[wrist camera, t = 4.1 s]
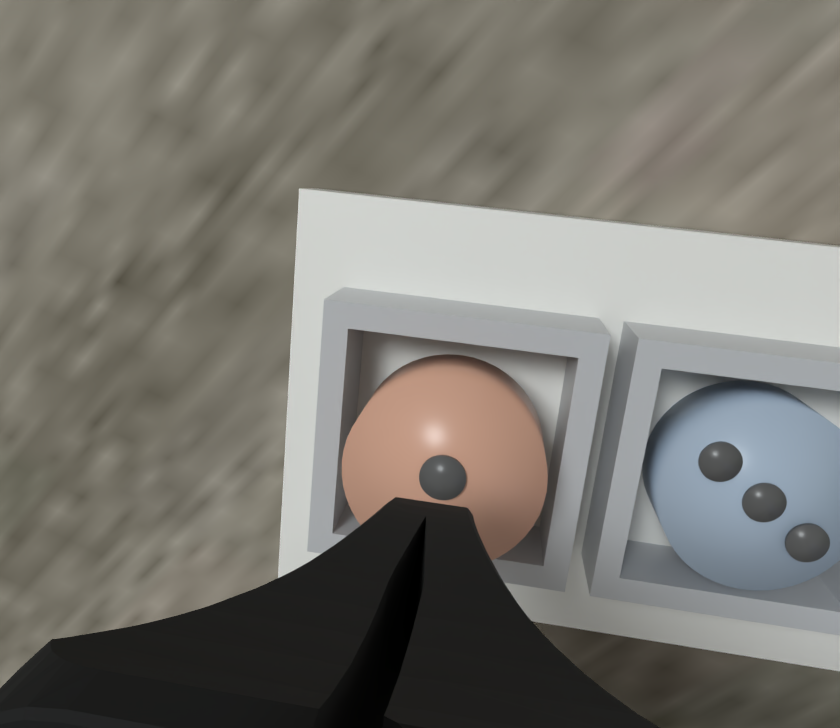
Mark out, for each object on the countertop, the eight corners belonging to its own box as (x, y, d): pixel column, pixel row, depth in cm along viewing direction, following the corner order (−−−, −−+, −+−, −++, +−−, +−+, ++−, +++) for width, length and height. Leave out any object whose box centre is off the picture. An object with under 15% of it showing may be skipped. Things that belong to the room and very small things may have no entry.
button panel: (1092, 680, 19) (1217, 785, 16) (293, 553, 21) (253, 622, 18) (1257, 291, 16) (1452, 318, 13) (315, 188, 18) (272, 188, 15)
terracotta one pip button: (528, 538, 17) (531, 586, 15) (353, 512, 17) (333, 554, 15) (555, 367, 16) (563, 393, 14) (368, 343, 16) (348, 365, 14)
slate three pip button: (804, 558, 17) (843, 607, 15) (627, 532, 18) (643, 576, 16) (850, 393, 16) (899, 422, 14) (660, 369, 17) (682, 394, 15)
